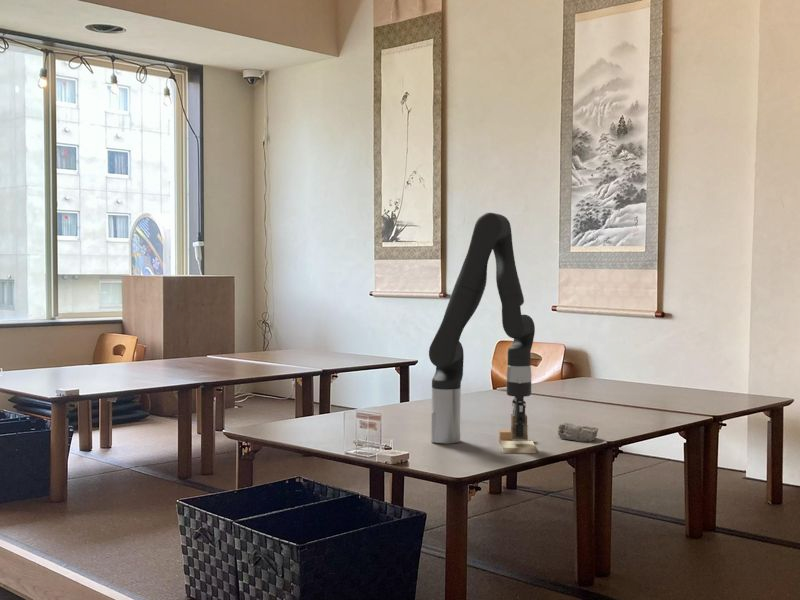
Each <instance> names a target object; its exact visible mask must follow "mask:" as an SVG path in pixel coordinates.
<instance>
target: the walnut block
mask: <svg viewBox="0 0 800 600" xmlns="http://www.w3.org/2000/svg"><path fill="white" fill-rule="evenodd" d="M518 420H522V417H518ZM515 422H516V418H515V417H514V414H513V413H511V414H510V430H511V438H512V439H527V425H528V415H527V414H526V413H525V424H524V425H523V437H516V424H515Z"/></svg>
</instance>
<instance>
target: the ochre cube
mask: <svg viewBox="0 0 800 600" xmlns="http://www.w3.org/2000/svg"><path fill="white" fill-rule="evenodd" d="M500 441H513V439H512V438H511V429H499V430H498V443H499V444H500Z"/></svg>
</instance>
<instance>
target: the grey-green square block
mask: <svg viewBox="0 0 800 600" xmlns="http://www.w3.org/2000/svg"><path fill="white" fill-rule="evenodd" d="M513 441H529V424H527V439H513Z"/></svg>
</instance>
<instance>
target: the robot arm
mask: <svg viewBox="0 0 800 600" xmlns="http://www.w3.org/2000/svg"><path fill="white" fill-rule="evenodd" d="M512 233H513V232H512V226H511V223H510V221H509V219H508V218H507V217H506V216H505V215H502V214H499V213H494V212H485V213H483V214H482V215H480V216H479V217H478V218H477V220H476V222H475V225H474V227H473V232H472V236H471V238H470V239H471V240H470V243H469V247H468V250H467V253H466V255H465V258H464V261H463V263H462V266H461V269H460V272H459V273H458V276H457V279H456V280H455V284H454V287H453V288H452V292H451V294H450V295H451V296H450V298H449V301H448V304H447V306H446V309H445V313H444V315H443V318H442V321H441V323H440V326H439V328H438V330H437V332H436V334H435V336H434V338H433V339H432V341H431V344H430V345H429V350H428V357H429V361H430V362H431V364H432V365H434V367H435V373H434V376H433V377H432V379H431V433H430V434H431V435H430V436H431V441H430V442H431V443H437V444H456V443H460V442H461V410H462V409H461V407H462V406H461V397H462V396H461V394H462V393H461V391H462V390H461V386H462V383H461V382H462V380H463V376H464V357H465V356H464V346H463V345H462V343H461V341H460V338H461V336H462V333H463V332H464V328H465V327H466V326H467V324H468V322H469V321H470V319H471V318H472V316H474V314H475V312H476V310H477V309H478V307H479V305H480V303H481V300H482V298H483V295H484V292H485V289H486V286H487V279H488V272H487V271H488V264H489V259H490V256H491V253H492V251H493V255H494V258H495V265H496V266H495V271H496V272H495V279H496V282H495V283H496V287H497V292H498V295H499V299H500V303H501V321H502V328H503V331H504V333H505V335H507V337H509V338H511V339H513V342H512V344H511V346H509V347H508V349H507V367H506V395H507V396H509V397H514V398H513V399H512V400H511V406H512V410H511V411H512V414H514V417H515V418H516V422H515V424H516V437H523V425H524V424H525V414H526V407H527V402H526V401H525V400H524V398H525V397H530V396H531V395H532V367H531V366H532V364H531V363H532V362H531V361H532V360H531V351H532V346H533V343H534V338H535V334H536V333H535V332H536V330H535V329H536V327H535V322H534V320H533V318H532V317H531V316H530V315H528V314H522V309H521V307H522V305H524V303H525V299H524V298H525V297H524V294H523V290H522V287H521V286H522V285H521V283H520V278H519V275H518V271H517V265H516V261H515V253H514V246H513V245H514V244H513V234H512ZM518 417H522V420H518Z"/></svg>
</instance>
